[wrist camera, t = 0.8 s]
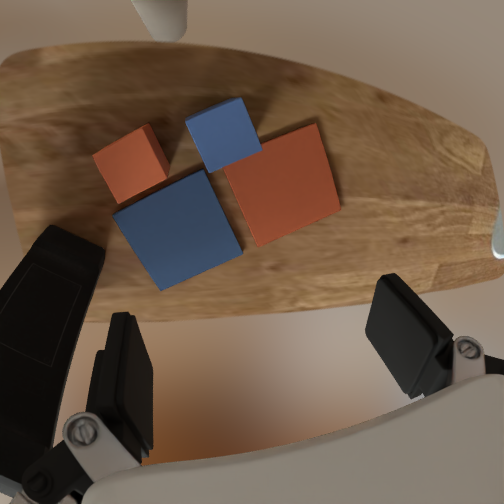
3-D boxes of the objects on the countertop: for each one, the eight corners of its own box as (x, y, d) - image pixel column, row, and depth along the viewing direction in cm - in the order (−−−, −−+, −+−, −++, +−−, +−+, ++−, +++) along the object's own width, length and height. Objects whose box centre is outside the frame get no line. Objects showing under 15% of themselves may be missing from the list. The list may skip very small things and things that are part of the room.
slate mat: (113, 214, 25) (112, 215, 25) (203, 168, 25) (203, 169, 25) (160, 288, 30) (160, 291, 30) (242, 252, 30) (243, 254, 29)
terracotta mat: (219, 160, 25) (219, 161, 25) (314, 122, 25) (316, 123, 25) (257, 245, 30) (258, 247, 29) (339, 208, 30) (341, 210, 29)
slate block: (185, 117, 23) (184, 121, 19) (232, 97, 23) (241, 97, 19) (205, 162, 25) (209, 173, 21) (251, 142, 25) (263, 150, 21)
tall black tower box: (28, 267, 25) (-70, 489, 4) (39, 217, 24) (-106, 457, 2) (92, 296, 29) (46, 545, 7) (109, 250, 27) (43, 540, 5)
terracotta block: (105, 146, 22) (91, 155, 19) (149, 122, 22) (141, 126, 19) (127, 188, 25) (118, 204, 21) (170, 166, 24) (167, 178, 21)
